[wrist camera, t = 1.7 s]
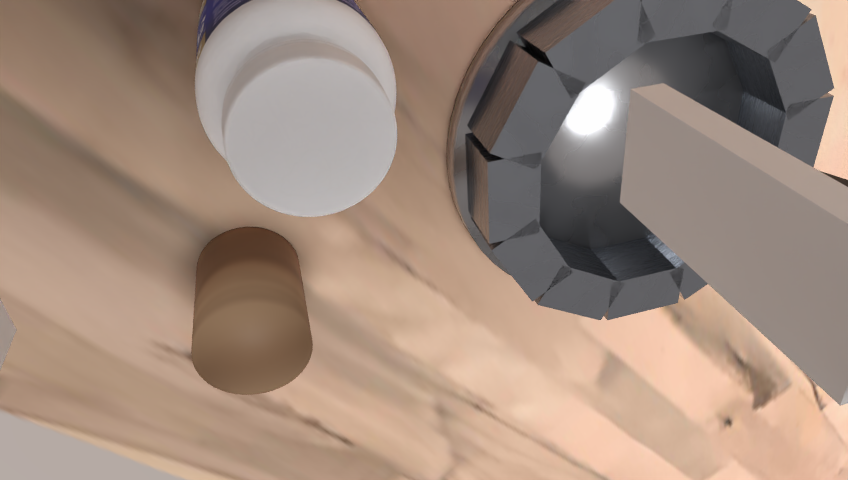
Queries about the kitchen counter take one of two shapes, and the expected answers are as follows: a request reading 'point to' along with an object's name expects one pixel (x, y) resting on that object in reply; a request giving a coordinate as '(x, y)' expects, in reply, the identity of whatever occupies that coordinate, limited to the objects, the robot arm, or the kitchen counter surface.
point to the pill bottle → (297, 100)
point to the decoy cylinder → (249, 313)
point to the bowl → (614, 132)
